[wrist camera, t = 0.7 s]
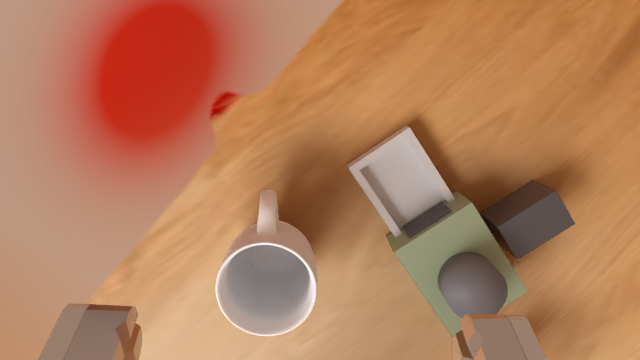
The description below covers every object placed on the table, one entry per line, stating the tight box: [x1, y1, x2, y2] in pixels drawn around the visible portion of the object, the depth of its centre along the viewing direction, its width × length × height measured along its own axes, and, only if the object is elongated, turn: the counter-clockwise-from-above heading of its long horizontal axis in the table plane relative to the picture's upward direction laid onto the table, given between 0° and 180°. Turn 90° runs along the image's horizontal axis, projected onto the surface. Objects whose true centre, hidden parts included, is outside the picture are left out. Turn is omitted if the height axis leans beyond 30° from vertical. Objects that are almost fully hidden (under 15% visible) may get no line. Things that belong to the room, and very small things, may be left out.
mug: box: [216, 189, 318, 336], centre depth 56 cm, size 15×11×13 cm
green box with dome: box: [347, 126, 528, 338], centre depth 57 cm, size 25×11×10 cm, turn 34°
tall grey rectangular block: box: [480, 180, 575, 259], centre depth 59 cm, size 5×8×6 cm, turn 124°
